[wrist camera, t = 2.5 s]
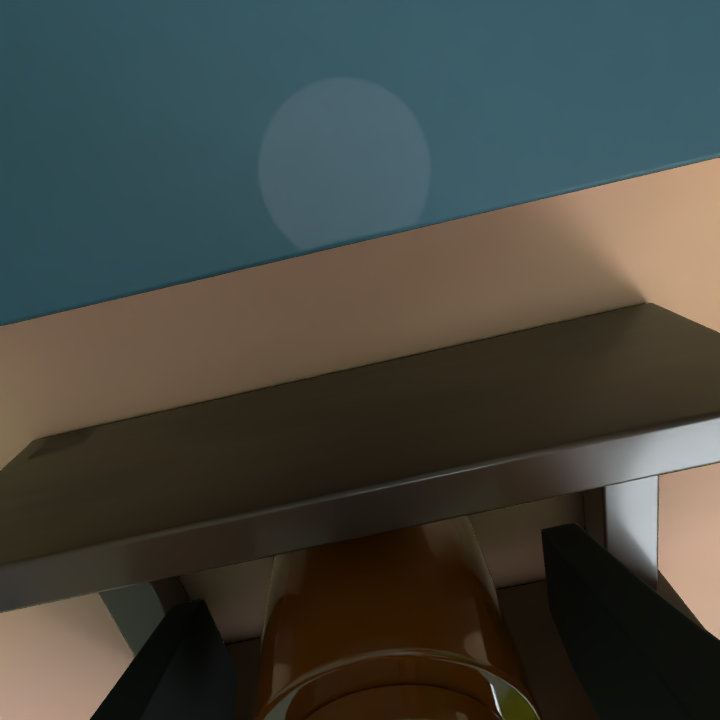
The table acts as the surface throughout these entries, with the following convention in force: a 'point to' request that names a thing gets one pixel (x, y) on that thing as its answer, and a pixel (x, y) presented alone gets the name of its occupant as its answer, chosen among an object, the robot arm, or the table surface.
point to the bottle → (389, 633)
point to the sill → (318, 125)
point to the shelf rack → (374, 473)
